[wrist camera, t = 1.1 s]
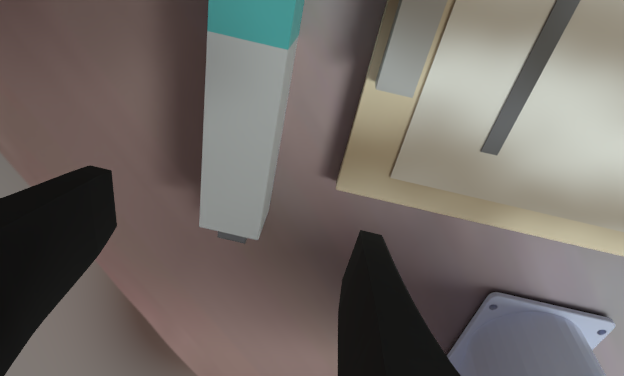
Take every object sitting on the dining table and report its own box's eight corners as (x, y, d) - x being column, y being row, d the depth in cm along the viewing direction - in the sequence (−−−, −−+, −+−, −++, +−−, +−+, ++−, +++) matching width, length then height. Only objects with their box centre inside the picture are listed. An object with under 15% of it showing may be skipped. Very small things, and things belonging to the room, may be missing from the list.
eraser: (266, 224, 23) (255, 256, 21) (215, 213, 23) (198, 243, 21) (311, -42, 15) (301, -38, 13) (234, -60, 15) (211, -60, 13)
